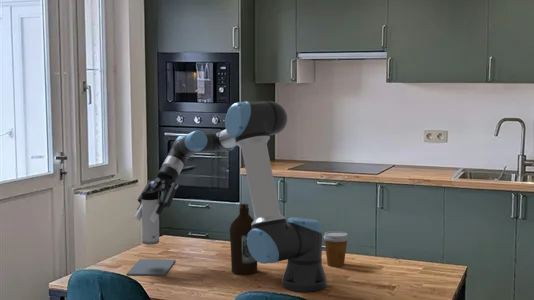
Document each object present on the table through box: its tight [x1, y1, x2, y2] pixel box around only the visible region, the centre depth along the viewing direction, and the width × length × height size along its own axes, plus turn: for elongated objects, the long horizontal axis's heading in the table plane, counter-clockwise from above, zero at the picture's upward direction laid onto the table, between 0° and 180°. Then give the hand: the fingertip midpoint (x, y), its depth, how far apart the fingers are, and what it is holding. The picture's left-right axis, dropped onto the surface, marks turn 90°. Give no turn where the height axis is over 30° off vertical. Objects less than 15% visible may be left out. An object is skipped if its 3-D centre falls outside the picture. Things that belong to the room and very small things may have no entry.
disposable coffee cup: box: [322, 231, 349, 268], centre depth 252 cm, size 10×10×12 cm
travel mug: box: [141, 189, 161, 246], centre depth 247 cm, size 6×7×20 cm
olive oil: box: [229, 203, 258, 276], centre depth 242 cm, size 11×11×25 cm
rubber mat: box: [126, 258, 176, 277], centre depth 248 cm, size 20×14×1 cm
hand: (144, 219), depth 244 cm, fingers closed on travel mug, 6 cm apart
